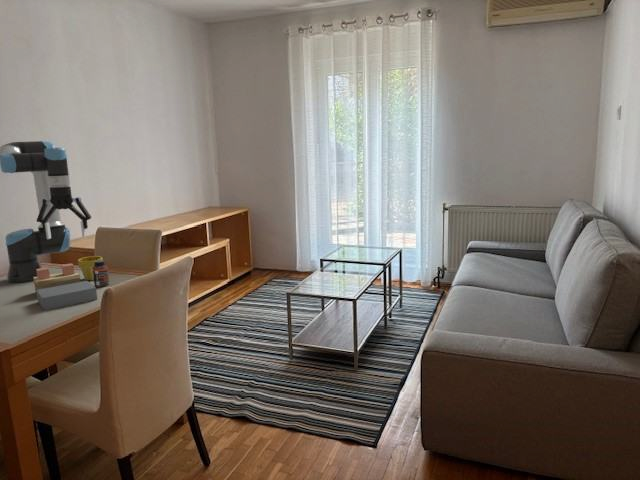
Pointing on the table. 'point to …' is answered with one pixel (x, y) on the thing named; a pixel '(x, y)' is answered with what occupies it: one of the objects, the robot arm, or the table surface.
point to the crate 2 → (68, 269)
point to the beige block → (56, 280)
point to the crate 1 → (43, 273)
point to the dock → (66, 295)
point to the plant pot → (88, 266)
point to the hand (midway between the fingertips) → (66, 237)
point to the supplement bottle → (100, 274)
